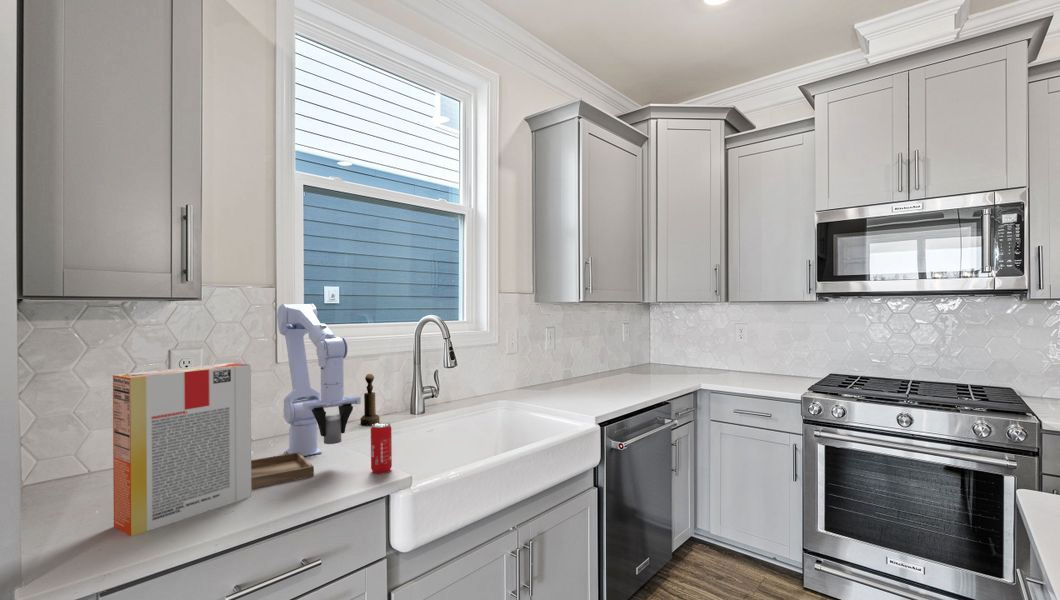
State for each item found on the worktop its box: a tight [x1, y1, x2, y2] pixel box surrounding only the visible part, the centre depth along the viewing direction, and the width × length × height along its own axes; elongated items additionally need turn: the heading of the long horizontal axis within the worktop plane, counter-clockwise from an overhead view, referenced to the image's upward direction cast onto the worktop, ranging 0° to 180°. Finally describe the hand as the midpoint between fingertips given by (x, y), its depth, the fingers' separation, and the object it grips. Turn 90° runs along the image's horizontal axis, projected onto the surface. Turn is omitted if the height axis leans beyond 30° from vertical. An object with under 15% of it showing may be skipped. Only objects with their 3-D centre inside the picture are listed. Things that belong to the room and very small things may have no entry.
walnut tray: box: [251, 452, 315, 490], centre depth 131 cm, size 16×16×2 cm
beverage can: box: [370, 422, 393, 475], centre depth 133 cm, size 5×5×12 cm
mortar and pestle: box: [360, 373, 381, 426], centre depth 186 cm, size 7×6×18 cm
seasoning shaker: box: [323, 413, 342, 445], centre depth 136 cm, size 4×4×7 cm
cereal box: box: [112, 362, 252, 537], centre depth 109 cm, size 23×8×30 cm, turn 148°
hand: (332, 434), depth 136 cm, fingers closed on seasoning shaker, 4 cm apart
